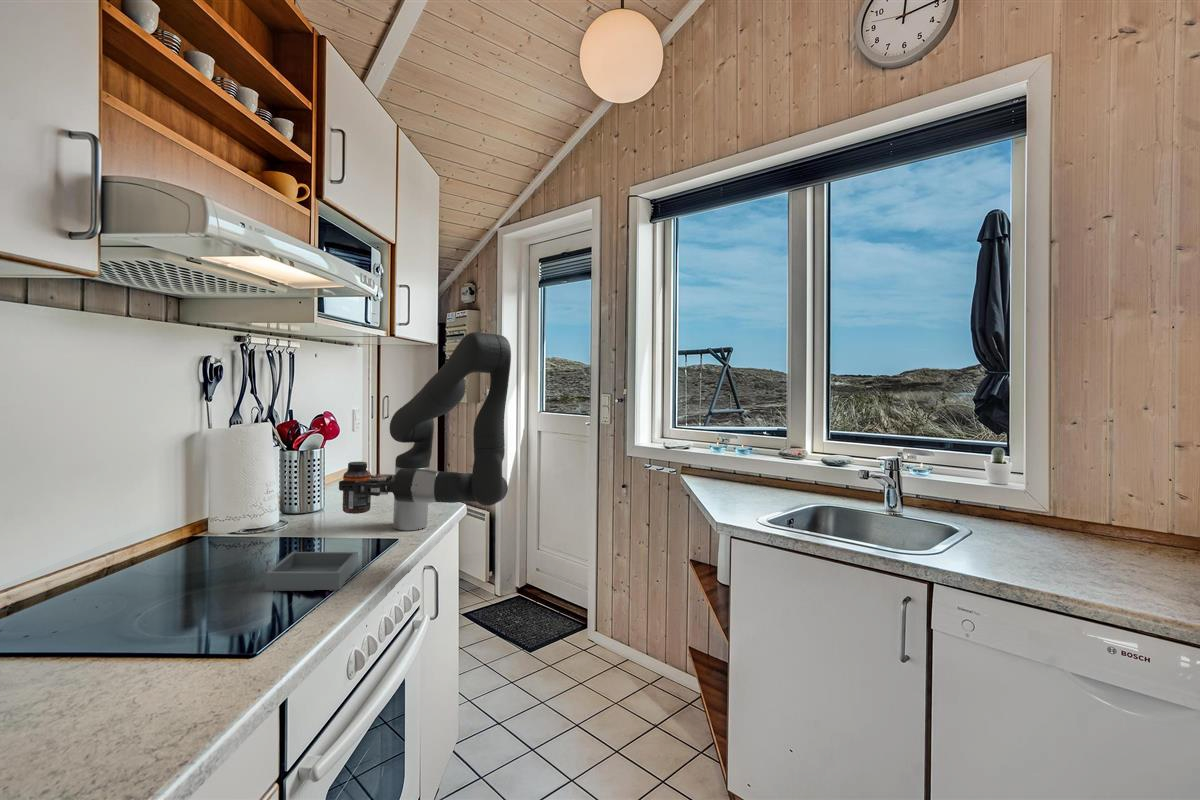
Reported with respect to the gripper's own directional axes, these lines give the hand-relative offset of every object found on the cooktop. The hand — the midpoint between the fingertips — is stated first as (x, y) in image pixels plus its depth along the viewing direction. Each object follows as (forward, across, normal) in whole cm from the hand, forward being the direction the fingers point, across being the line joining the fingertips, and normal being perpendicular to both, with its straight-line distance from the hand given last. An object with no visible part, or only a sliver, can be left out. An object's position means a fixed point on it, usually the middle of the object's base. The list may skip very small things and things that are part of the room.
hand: (346, 482), depth 132 cm
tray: (0, +13, +18) cm, 22 cm away
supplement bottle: (-2, 0, +7) cm, 7 cm away
